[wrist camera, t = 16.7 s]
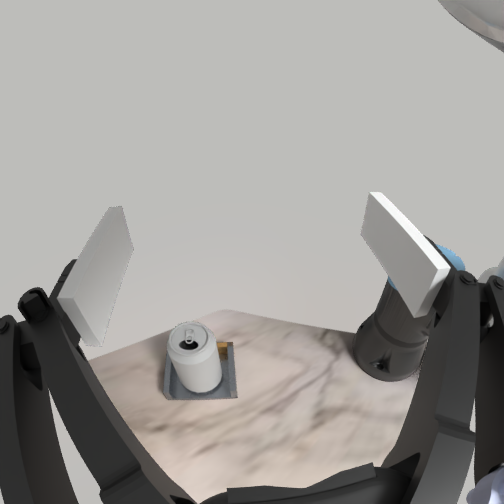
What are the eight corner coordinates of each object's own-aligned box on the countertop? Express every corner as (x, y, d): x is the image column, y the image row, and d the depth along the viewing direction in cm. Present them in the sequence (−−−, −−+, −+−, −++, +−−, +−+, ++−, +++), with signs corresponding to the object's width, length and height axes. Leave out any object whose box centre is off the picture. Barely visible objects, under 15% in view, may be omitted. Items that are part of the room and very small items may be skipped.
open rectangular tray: (233, 350, 51) (232, 341, 49) (237, 397, 43) (236, 390, 41) (171, 353, 50) (167, 344, 48) (167, 399, 42) (163, 392, 40)
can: (177, 392, 43) (158, 355, 36) (184, 357, 49) (169, 315, 42) (220, 396, 43) (211, 360, 35) (224, 360, 49) (217, 318, 41)
